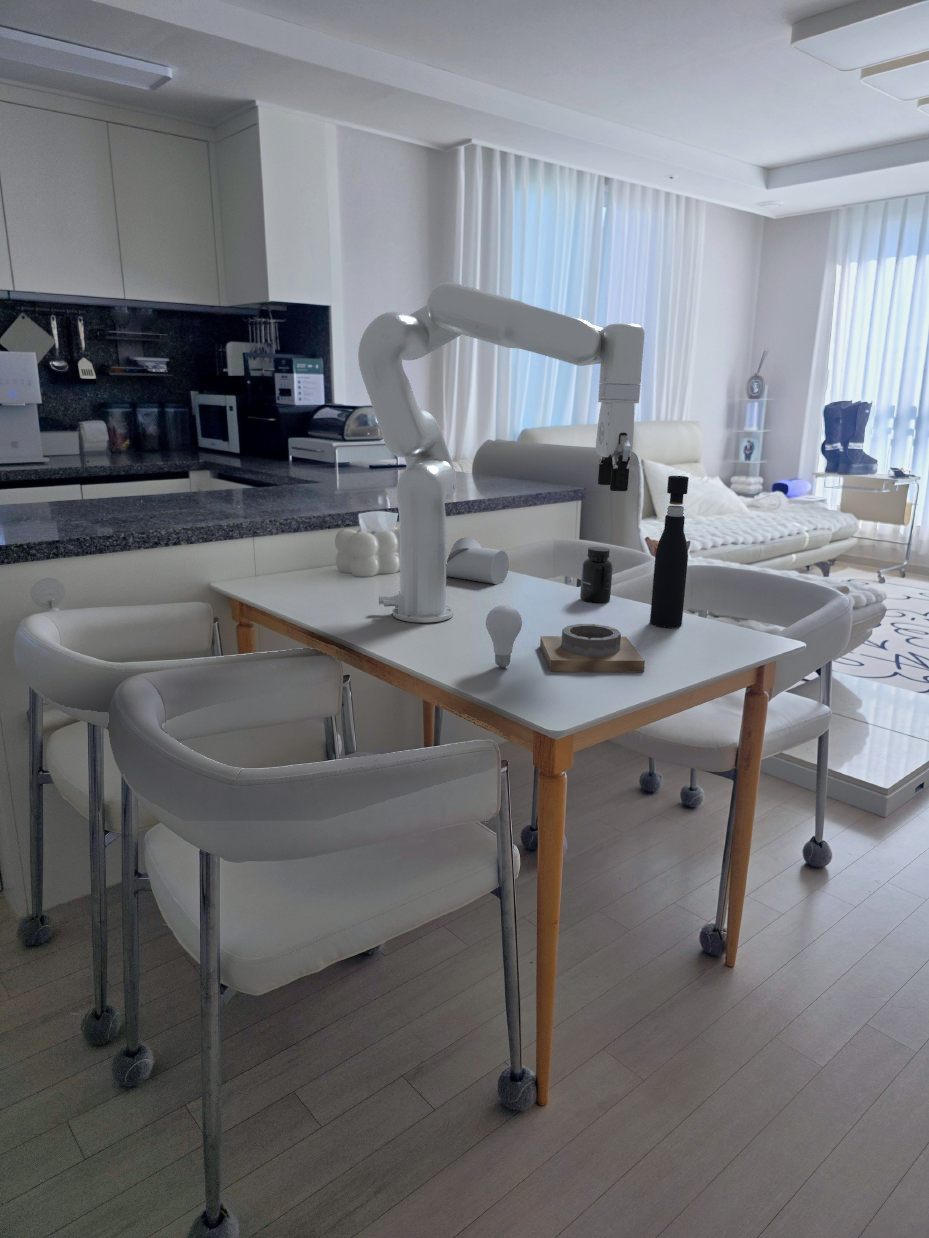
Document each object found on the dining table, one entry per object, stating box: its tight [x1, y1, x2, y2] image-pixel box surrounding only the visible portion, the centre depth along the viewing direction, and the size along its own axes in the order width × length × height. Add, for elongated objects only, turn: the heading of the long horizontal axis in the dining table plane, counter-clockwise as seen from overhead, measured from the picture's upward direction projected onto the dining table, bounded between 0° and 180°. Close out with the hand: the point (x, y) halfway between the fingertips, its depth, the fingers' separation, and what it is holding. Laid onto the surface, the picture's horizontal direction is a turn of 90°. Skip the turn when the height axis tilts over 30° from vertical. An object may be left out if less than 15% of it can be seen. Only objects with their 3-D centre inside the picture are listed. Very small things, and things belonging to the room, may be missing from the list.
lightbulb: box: [485, 604, 523, 669], centre depth 140 cm, size 6×6×11 cm
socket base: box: [539, 623, 646, 673], centre depth 146 cm, size 16×14×5 cm
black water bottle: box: [649, 475, 690, 629], centre depth 165 cm, size 6×6×30 cm
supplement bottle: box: [579, 546, 614, 605], centre depth 186 cm, size 7×7×12 cm
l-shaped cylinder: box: [446, 537, 510, 585], centre depth 209 cm, size 18×11×20 cm
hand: (612, 487), depth 157 cm, fingers open, 9 cm apart
